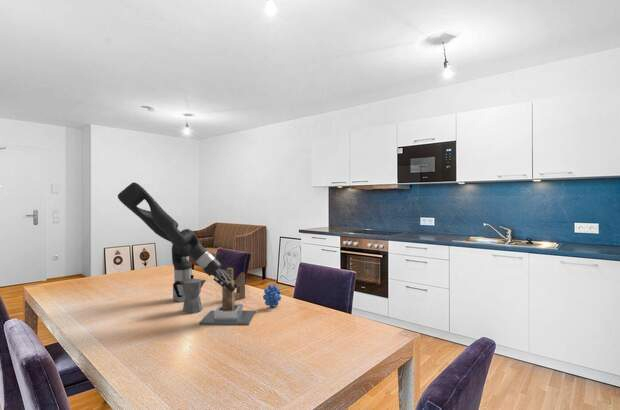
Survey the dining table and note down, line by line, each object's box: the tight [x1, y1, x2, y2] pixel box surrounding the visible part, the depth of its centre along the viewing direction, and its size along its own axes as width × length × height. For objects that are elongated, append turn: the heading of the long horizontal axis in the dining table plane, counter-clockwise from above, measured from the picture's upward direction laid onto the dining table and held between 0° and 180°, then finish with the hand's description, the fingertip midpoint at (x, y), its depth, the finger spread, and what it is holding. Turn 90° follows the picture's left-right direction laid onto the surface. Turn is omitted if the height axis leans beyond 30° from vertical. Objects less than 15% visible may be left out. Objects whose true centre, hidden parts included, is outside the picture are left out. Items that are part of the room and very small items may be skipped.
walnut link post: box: [221, 279, 236, 310], centre depth 159 cm, size 4×4×15 cm
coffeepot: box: [172, 274, 207, 315], centre depth 169 cm, size 15×9×18 cm, turn 110°
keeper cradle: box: [199, 303, 256, 326], centre depth 159 cm, size 22×16×5 cm
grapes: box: [262, 284, 282, 309], centre depth 173 cm, size 12×7×12 cm, turn 138°
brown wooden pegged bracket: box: [225, 267, 246, 301], centre depth 188 cm, size 4×11×18 cm, turn 137°
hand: (234, 289), depth 159 cm, fingers closed on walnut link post, 4 cm apart
